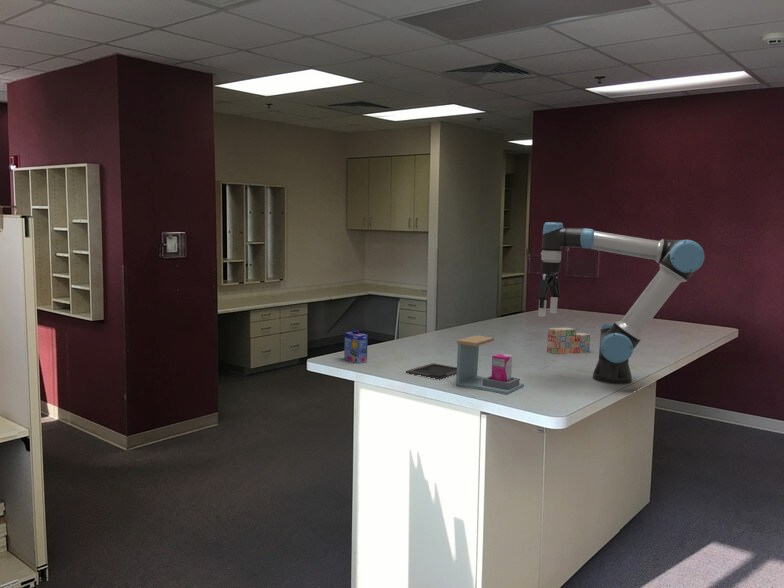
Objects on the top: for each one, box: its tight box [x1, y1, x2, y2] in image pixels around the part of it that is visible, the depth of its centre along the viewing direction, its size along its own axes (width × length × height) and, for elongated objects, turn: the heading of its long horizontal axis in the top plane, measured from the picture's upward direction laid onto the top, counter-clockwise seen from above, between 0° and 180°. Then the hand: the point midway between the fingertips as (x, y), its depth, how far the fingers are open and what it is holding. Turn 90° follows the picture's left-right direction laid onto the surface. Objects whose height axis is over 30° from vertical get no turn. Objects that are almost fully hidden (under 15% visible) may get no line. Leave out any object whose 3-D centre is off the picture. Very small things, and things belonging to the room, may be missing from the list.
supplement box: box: [491, 353, 513, 382], centre depth 250 cm, size 6×6×12 cm
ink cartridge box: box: [343, 328, 369, 364], centre depth 288 cm, size 10×6×14 cm, turn 44°
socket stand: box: [455, 335, 525, 395], centre depth 252 cm, size 22×16×17 cm
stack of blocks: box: [546, 327, 591, 355], centre depth 329 cm, size 21×6×12 cm, turn 113°
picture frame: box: [405, 362, 457, 380], centre depth 272 cm, size 16×2×21 cm
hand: (547, 314), depth 263 cm, fingers open, 13 cm apart
